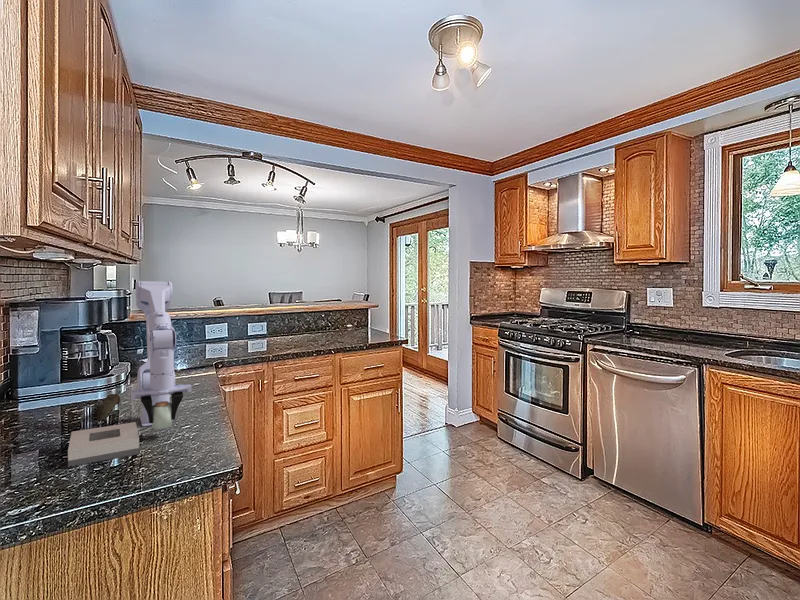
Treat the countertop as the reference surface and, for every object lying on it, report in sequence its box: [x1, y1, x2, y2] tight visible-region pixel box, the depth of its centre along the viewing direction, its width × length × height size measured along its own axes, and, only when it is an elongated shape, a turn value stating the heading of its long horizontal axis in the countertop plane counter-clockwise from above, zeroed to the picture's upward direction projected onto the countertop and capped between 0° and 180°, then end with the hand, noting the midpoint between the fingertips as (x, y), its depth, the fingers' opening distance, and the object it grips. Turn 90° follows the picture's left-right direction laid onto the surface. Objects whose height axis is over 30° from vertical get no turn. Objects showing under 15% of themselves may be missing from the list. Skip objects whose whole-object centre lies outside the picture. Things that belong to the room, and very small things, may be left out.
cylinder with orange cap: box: [151, 401, 173, 430], centre depth 115 cm, size 5×5×7 cm
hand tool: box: [96, 393, 121, 421], centre depth 135 cm, size 19×4×5 cm, turn 21°
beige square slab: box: [67, 421, 140, 468], centre depth 105 cm, size 14×14×4 cm
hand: (162, 420), depth 115 cm, fingers closed on cylinder with orange cap, 5 cm apart
